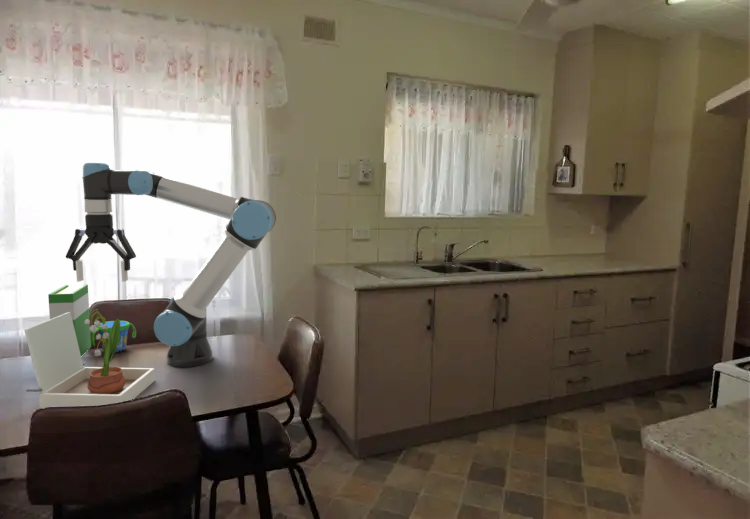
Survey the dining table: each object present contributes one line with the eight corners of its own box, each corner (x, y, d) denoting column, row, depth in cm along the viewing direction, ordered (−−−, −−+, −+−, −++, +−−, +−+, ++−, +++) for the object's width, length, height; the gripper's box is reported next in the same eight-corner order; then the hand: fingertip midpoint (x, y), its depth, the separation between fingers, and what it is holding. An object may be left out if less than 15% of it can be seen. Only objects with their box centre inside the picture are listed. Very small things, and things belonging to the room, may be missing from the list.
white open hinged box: (154, 380, 162) (152, 312, 160) (121, 410, 141) (117, 332, 138) (73, 378, 162) (69, 311, 159) (27, 408, 141) (21, 330, 138)
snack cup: (131, 343, 200) (130, 317, 199) (141, 349, 193) (140, 323, 191) (87, 351, 189) (85, 324, 188) (96, 358, 182) (94, 330, 181)
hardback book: (69, 348, 193) (65, 284, 189) (91, 347, 194) (87, 284, 191) (52, 363, 176) (48, 294, 172) (76, 362, 178) (72, 293, 174)
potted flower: (105, 401, 145) (101, 314, 141) (74, 397, 147) (69, 311, 143) (133, 385, 156) (129, 304, 153) (104, 382, 158) (100, 302, 155)
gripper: (144, 213, 165) (147, 278, 168) (63, 212, 163) (67, 278, 166) (135, 214, 158) (138, 282, 160) (50, 213, 156) (55, 282, 159)
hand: (102, 280), depth 163 cm, fingers open, 13 cm apart
